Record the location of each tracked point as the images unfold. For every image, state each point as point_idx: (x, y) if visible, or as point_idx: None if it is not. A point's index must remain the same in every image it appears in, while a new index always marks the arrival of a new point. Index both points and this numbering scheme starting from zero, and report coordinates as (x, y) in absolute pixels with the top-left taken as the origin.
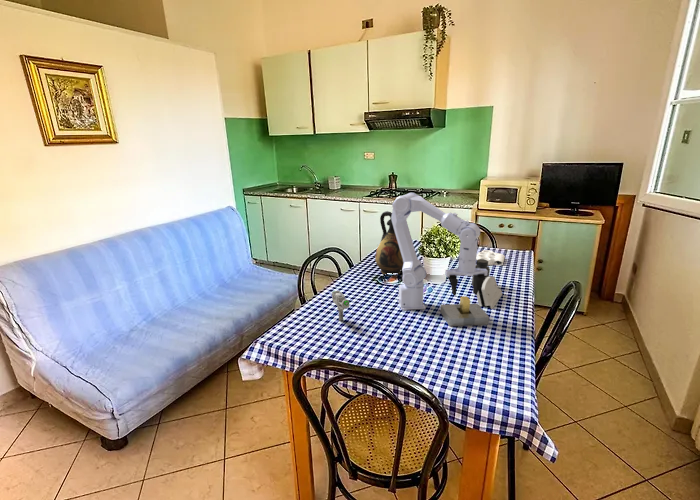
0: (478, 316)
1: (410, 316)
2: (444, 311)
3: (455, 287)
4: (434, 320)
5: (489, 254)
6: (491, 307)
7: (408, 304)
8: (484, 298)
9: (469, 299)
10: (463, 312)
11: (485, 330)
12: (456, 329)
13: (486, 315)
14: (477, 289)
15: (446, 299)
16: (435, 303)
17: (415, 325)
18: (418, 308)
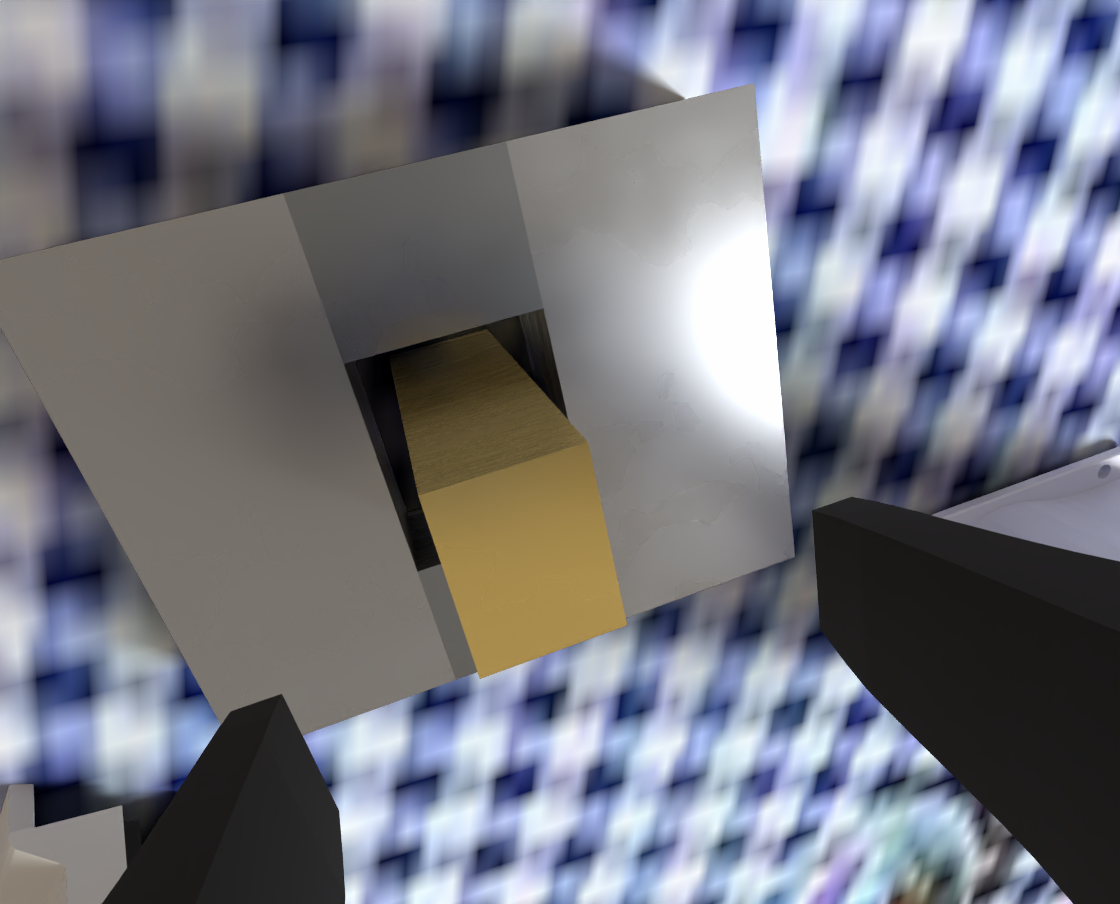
0: (213, 263)
1: (1079, 313)
2: (769, 384)
3: (1095, 593)
4: (846, 258)
5: None
6: (17, 802)
7: (1107, 513)
8: None
9: (434, 525)
10: (498, 363)
11: (87, 14)
12: (593, 4)
13: (39, 339)
14: (178, 851)
15: (625, 819)
16: (757, 693)
17: (1090, 73)
18: (975, 504)
